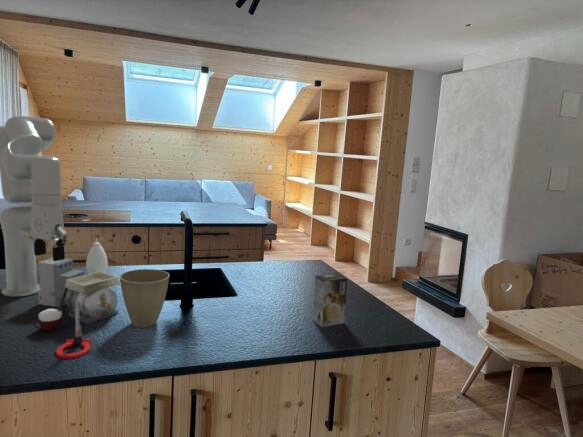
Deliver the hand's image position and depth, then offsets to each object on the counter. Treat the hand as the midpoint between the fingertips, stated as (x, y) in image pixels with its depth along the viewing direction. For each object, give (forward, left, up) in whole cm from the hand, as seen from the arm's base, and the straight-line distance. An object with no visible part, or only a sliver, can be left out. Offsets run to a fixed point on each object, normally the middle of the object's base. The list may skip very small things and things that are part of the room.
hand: (49, 257), depth 129 cm
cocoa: (0, 0, -23) cm, 23 cm away
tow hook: (+18, -4, -23) cm, 29 cm away
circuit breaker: (-17, +14, -23) cm, 32 cm away
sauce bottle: (-32, +37, -23) cm, 54 cm away
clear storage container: (0, +14, -22) cm, 26 cm away
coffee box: (+64, +59, -23) cm, 90 cm away
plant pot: (+18, +20, -23) cm, 35 cm away
